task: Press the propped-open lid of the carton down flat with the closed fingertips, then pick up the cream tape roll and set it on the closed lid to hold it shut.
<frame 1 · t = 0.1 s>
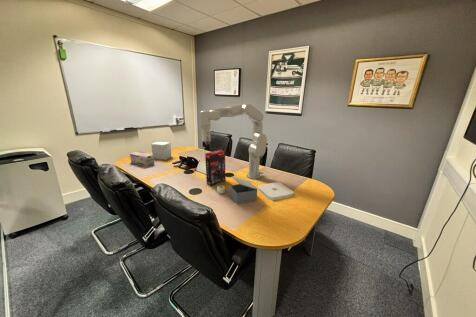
hand: (206, 148, 156), 31 cm above the table, fingers open, 9 cm apart
lid: (244, 182, 140), point 12 cm above the table, hinge at 25.0°
carton: (242, 197, 143), on the table
surgical sutures box: (142, 163, 211), on the table
computer: (274, 192, 154), on the table
supplement box: (162, 157, 232), on the table
graphics card box: (215, 182, 168), on the table
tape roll: (221, 192, 151), on the table
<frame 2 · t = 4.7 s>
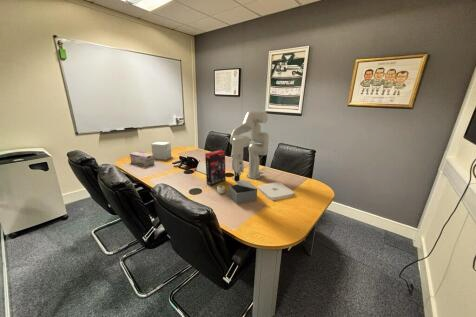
hand: (236, 180, 137), 15 cm above the table, fingers closed
lid: (244, 183, 140), point 11 cm above the table, hinge at 21.9°, touching gripper
everything else where it was.
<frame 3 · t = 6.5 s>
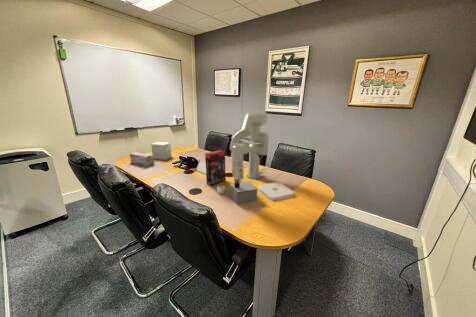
hand: (237, 187, 138), 9 cm above the table, fingers closed
lid: (243, 186, 141), point 9 cm above the table, hinge at 2.2°, touching gripper
everything else where it was.
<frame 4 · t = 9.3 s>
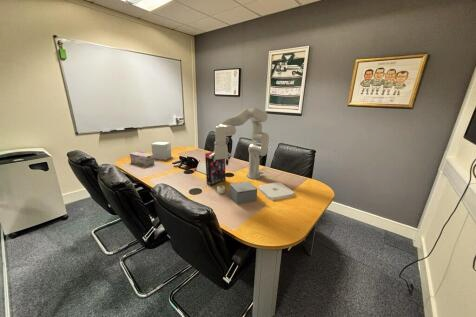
hand: (220, 165, 144), 22 cm above the table, fingers open, 9 cm apart
lid: (243, 186, 141), point 9 cm above the table, hinge at 2.0°
everything else where it was.
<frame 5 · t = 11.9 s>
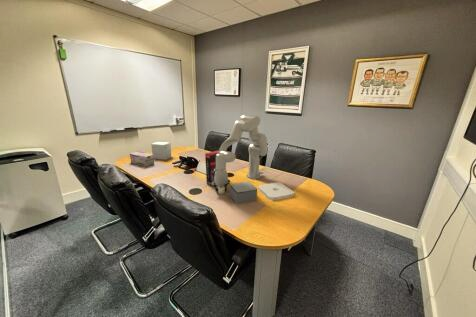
hand: (221, 191, 151), 1 cm above the table, fingers closed on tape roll, 6 cm apart
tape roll: (221, 192, 151), on the table, touching gripper
everything else where it was.
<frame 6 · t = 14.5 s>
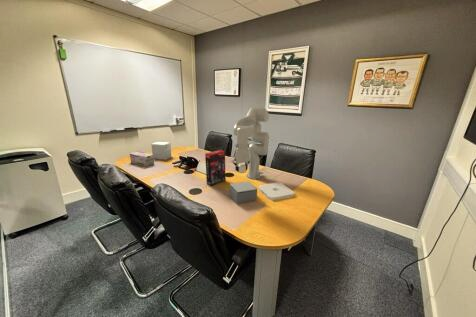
hand: (241, 170, 137), 22 cm above the table, fingers closed on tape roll, 6 cm apart
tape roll: (241, 171, 137), point 21 cm above the table, touching gripper
everything else where it was.
when the fingers open (10 cm above the table, at t = 17.1 s): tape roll stays where it is, resting on lid.
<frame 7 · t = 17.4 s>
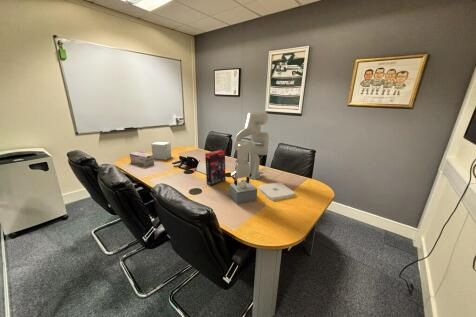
hand: (241, 183, 140), 11 cm above the table, fingers open, 9 cm apart
lid: (243, 186, 141), point 9 cm above the table, hinge at 1.6°, touching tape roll
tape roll: (241, 186, 140), point 9 cm above the table, touching lid
everything else where it was.
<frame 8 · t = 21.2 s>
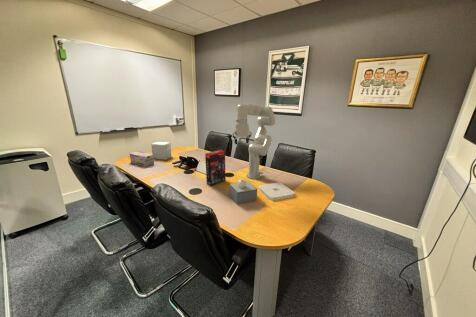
hand: (241, 143, 152), 36 cm above the table, fingers open, 9 cm apart
nothing on the table moved.
at the end: lid at +2° (first picture: +25°); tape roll inside the target area on the carton (1.0 cm from its centre), point 9.0 cm above the carton's base; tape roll tilted 2° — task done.
